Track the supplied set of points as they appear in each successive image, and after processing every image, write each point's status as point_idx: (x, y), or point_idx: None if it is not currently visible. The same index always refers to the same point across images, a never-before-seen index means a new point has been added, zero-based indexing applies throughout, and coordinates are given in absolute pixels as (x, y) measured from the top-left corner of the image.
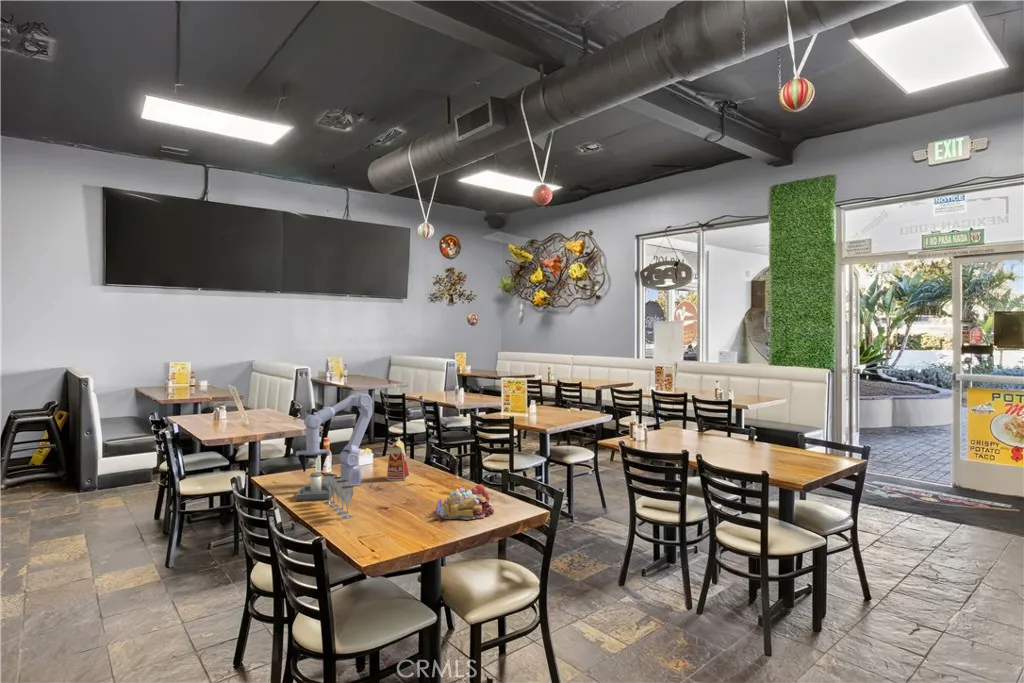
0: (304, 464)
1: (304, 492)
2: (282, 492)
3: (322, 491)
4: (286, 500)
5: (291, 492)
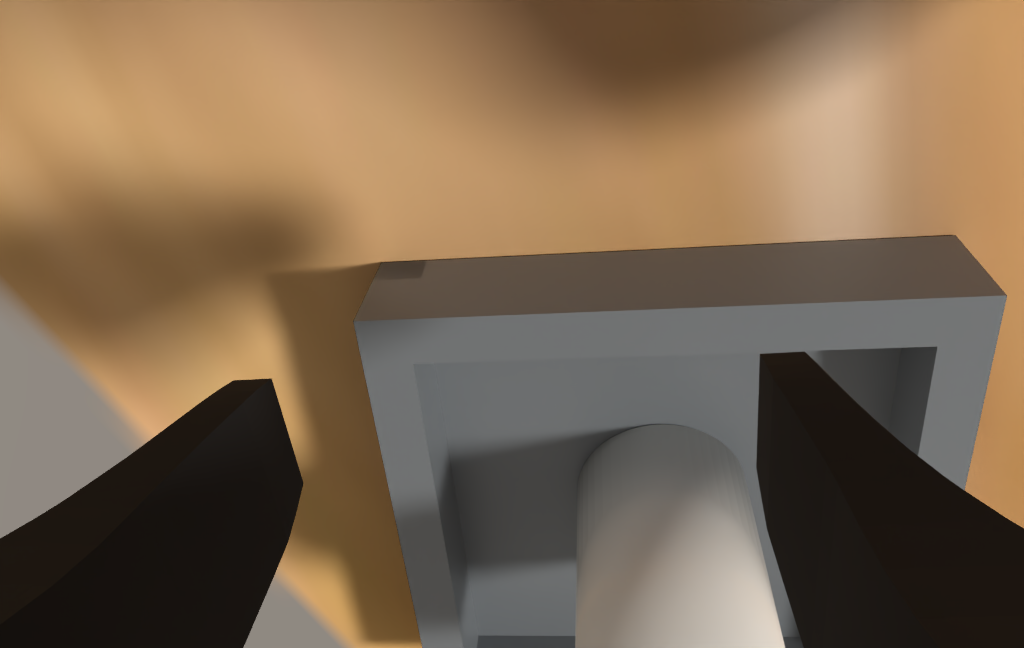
0: (205, 622)
1: (451, 402)
2: (18, 205)
3: (749, 390)
4: (302, 571)
5: (177, 226)
